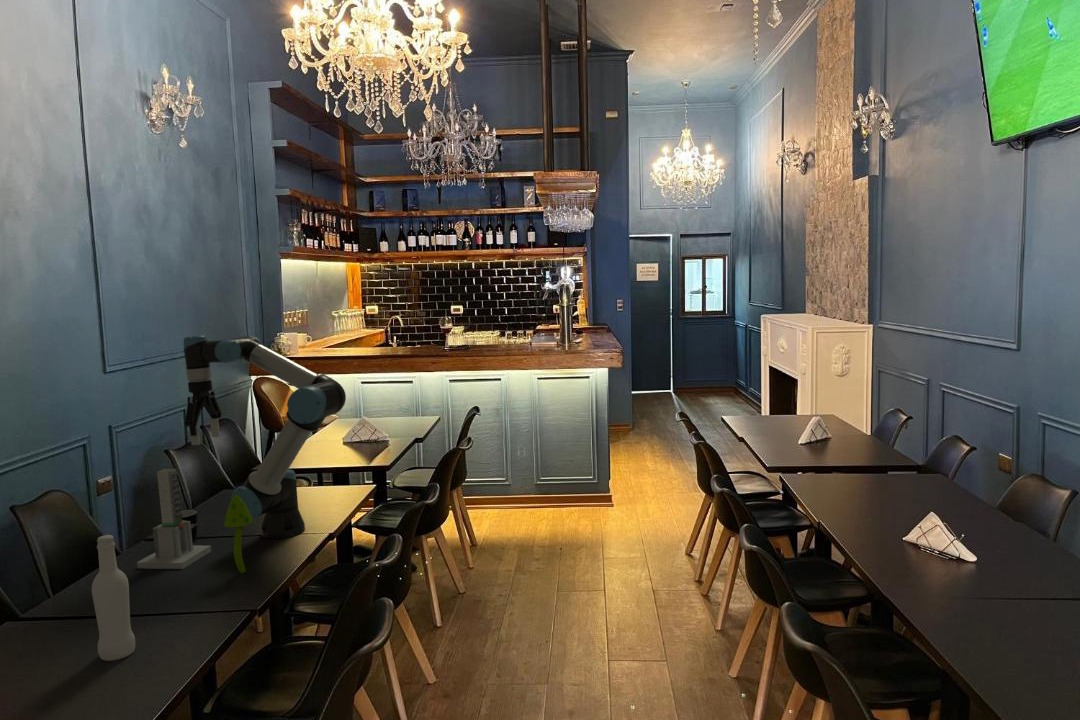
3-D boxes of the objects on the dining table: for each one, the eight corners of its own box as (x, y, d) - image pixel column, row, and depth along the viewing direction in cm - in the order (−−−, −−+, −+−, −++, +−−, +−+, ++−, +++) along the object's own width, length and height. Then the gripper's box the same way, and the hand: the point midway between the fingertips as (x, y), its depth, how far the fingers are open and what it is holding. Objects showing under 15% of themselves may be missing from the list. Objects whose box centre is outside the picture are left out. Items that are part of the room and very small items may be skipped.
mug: (192, 545, 271) (189, 517, 269) (166, 546, 271) (164, 518, 270) (207, 534, 282) (205, 507, 281) (183, 534, 283) (181, 507, 282)
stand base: (211, 551, 263) (207, 515, 262) (182, 568, 248) (179, 530, 246) (168, 550, 266) (164, 515, 265) (137, 568, 250) (133, 530, 249)
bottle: (108, 647, 194) (95, 532, 191) (141, 645, 195) (129, 529, 192) (92, 663, 186) (79, 543, 183) (127, 660, 187) (114, 540, 184)
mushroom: (263, 569, 244) (256, 491, 242) (242, 578, 237) (235, 499, 234) (243, 566, 248) (236, 490, 245) (222, 575, 240) (215, 497, 238)
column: (184, 533, 257) (178, 468, 255) (176, 537, 253) (170, 471, 251) (171, 533, 258) (164, 468, 256) (163, 537, 254) (156, 471, 252)
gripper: (207, 376, 280) (213, 434, 282) (169, 385, 255) (176, 448, 257) (227, 375, 279) (233, 432, 281) (190, 384, 254) (197, 447, 257)
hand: (206, 440), depth 269 cm, fingers open, 13 cm apart
